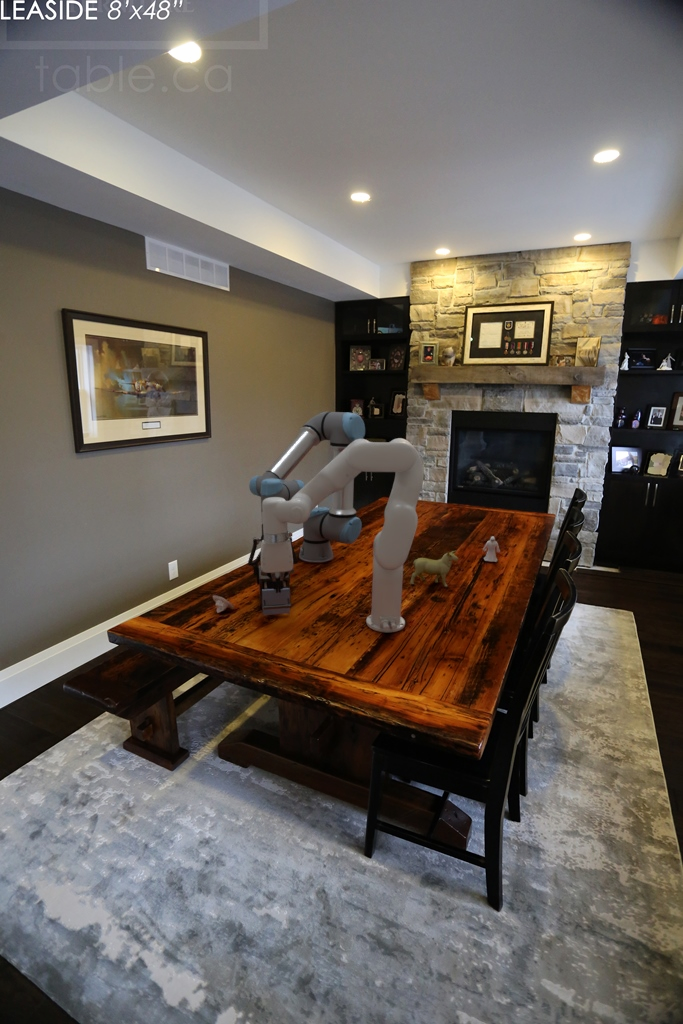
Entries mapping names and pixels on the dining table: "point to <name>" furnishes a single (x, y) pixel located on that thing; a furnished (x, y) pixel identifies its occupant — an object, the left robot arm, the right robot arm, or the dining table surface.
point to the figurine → (491, 550)
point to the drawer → (275, 599)
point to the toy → (434, 567)
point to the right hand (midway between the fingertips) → (278, 591)
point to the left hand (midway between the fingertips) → (273, 582)
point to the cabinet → (266, 578)
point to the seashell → (221, 603)
